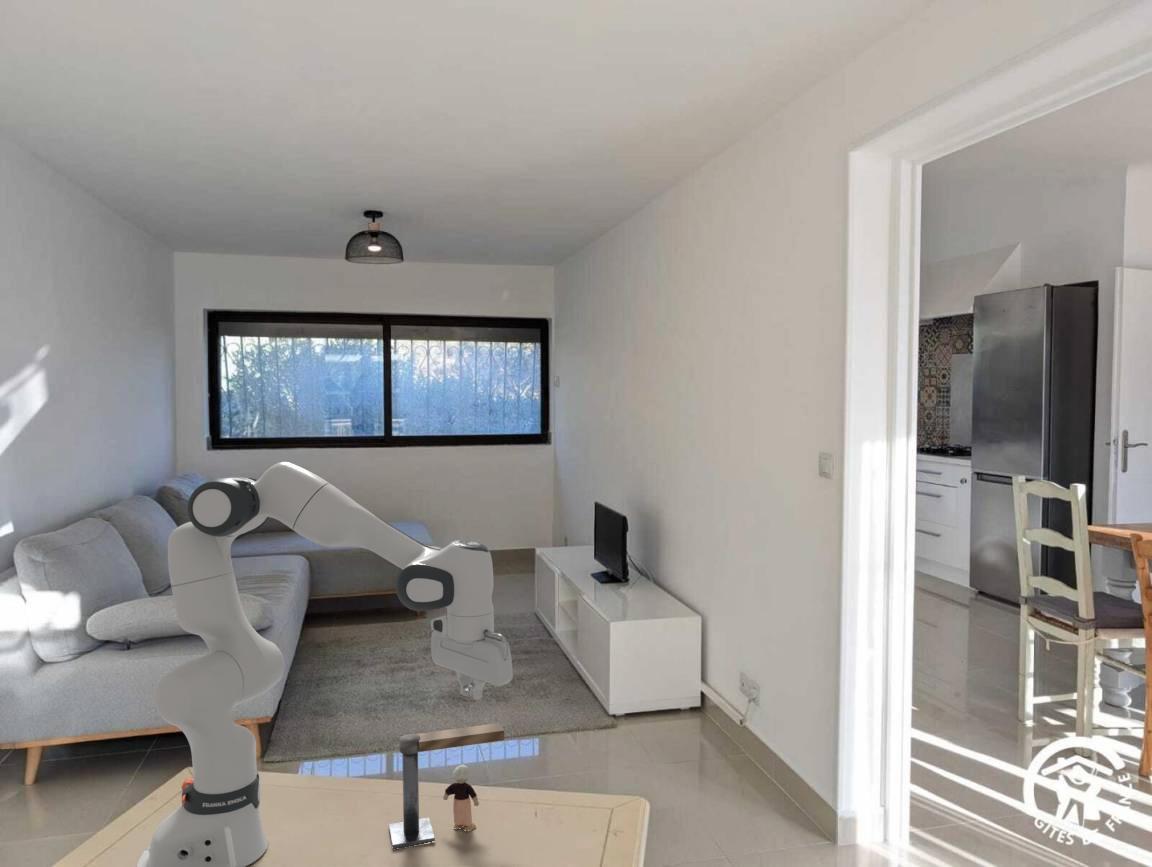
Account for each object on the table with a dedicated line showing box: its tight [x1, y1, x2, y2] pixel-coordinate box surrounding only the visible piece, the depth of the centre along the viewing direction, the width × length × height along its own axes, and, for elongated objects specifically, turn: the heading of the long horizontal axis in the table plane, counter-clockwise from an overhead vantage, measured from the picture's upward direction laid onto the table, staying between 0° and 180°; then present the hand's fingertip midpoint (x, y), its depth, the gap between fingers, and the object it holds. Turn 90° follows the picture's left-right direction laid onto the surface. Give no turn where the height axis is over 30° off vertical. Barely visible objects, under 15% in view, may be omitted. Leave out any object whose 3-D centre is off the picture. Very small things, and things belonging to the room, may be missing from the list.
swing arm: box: [399, 722, 505, 754], centre depth 164 cm, size 20×4×2 cm, turn 108°
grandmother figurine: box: [442, 764, 480, 832], centre depth 165 cm, size 8×4×13 cm, turn 84°
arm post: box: [388, 752, 436, 850], centre depth 162 cm, size 8×8×17 cm
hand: (471, 696), depth 158 cm, fingers closed
